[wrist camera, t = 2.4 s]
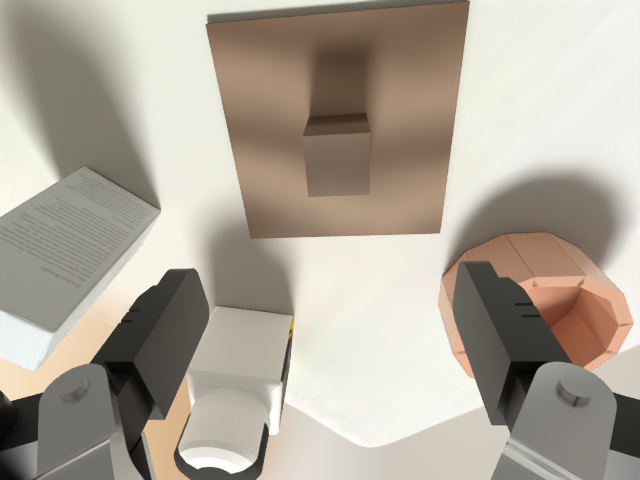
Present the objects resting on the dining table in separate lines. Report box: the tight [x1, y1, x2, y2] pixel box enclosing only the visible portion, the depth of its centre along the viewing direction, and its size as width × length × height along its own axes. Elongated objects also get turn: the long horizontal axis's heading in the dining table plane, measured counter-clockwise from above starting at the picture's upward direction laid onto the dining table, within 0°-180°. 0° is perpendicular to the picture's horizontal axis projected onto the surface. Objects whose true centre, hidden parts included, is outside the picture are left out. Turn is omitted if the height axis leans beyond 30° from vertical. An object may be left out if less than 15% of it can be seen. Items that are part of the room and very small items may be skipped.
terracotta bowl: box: [438, 232, 634, 379], centre depth 26 cm, size 11×11×5 cm
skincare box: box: [0, 166, 161, 371], centre depth 22 cm, size 6×4×12 cm
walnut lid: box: [206, 1, 470, 239], centre depth 21 cm, size 14×14×5 cm
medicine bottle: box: [174, 306, 294, 480], centre depth 29 cm, size 7×7×12 cm
